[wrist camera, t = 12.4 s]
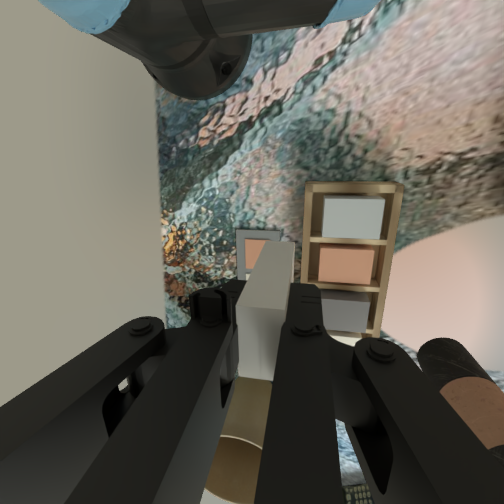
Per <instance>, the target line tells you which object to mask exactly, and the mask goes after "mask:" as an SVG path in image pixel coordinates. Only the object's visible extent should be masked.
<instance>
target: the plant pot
mask: <svg viewBox="0 0 504 504" xmlns="http://www.w3.org/2000/svg"><path fill="white" fill-rule="evenodd" d="M271 390H272V384H271V382H270V380H263V379H255V378H248V377H240V376H239V377H238V378H237V379H236V380H235V389H234V393H233V396H232V399H231V403H230V406H229V409H228V412H227V416H226V419H225V422H224V425H223V429H222V432H221V435H220V439H219V442H218V445H217V448H216V452H215V455H214V458H213V462H212V465H211V468H210V471H209V475H208V478H207V481H206V484H205V488H204V489H205V490H206V491H207V492H209V493H210V494H212V495H214V496H215V497H218V498H219V499H222V500H224V501H227V502H230V503H233V504H254V498H255V492H256V486H257V479H258V473H259V467H260V460H261V454H262V447H263V441H264V435H265V428H266V422H267V416H268V409H269V403H270V397H271Z"/></svg>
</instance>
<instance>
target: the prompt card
mask: <svg viewBox="0 0 504 504" xmlns="http://www.w3.org/2000/svg"><path fill="white" fill-rule="evenodd" d="M266 241H280V231H274V230H246V229H236V249H237V277H238V280H248V278H249V276H250V274H251V272H252V270H253V267H254V265H255V263H256V261H257V259H258V257H259V255H260V252H261V250H262V248H263V246H264V244H265V242H266Z"/></svg>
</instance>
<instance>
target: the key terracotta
mask: <svg viewBox="0 0 504 504" xmlns="http://www.w3.org/2000/svg"><path fill="white" fill-rule="evenodd" d="M374 252H375V250H374V249H373V247H372V246H371V245H369V244H346V243H322V242H320V246H319V260H318V281H325V282H340V283H355V284H370V280H371V273H372V266H373V259H374Z"/></svg>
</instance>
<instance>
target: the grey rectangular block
mask: <svg viewBox="0 0 504 504" xmlns="http://www.w3.org/2000/svg"><path fill="white" fill-rule="evenodd" d="M320 290H321V300H322V312H323V323H324V326H325V329H327V330H337V331H348V332H358V333H366V327H367V320H368V314H369V307H370V301H369V298H368V296H367V293H366V292H357V291H343V290H329V289H320Z"/></svg>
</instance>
